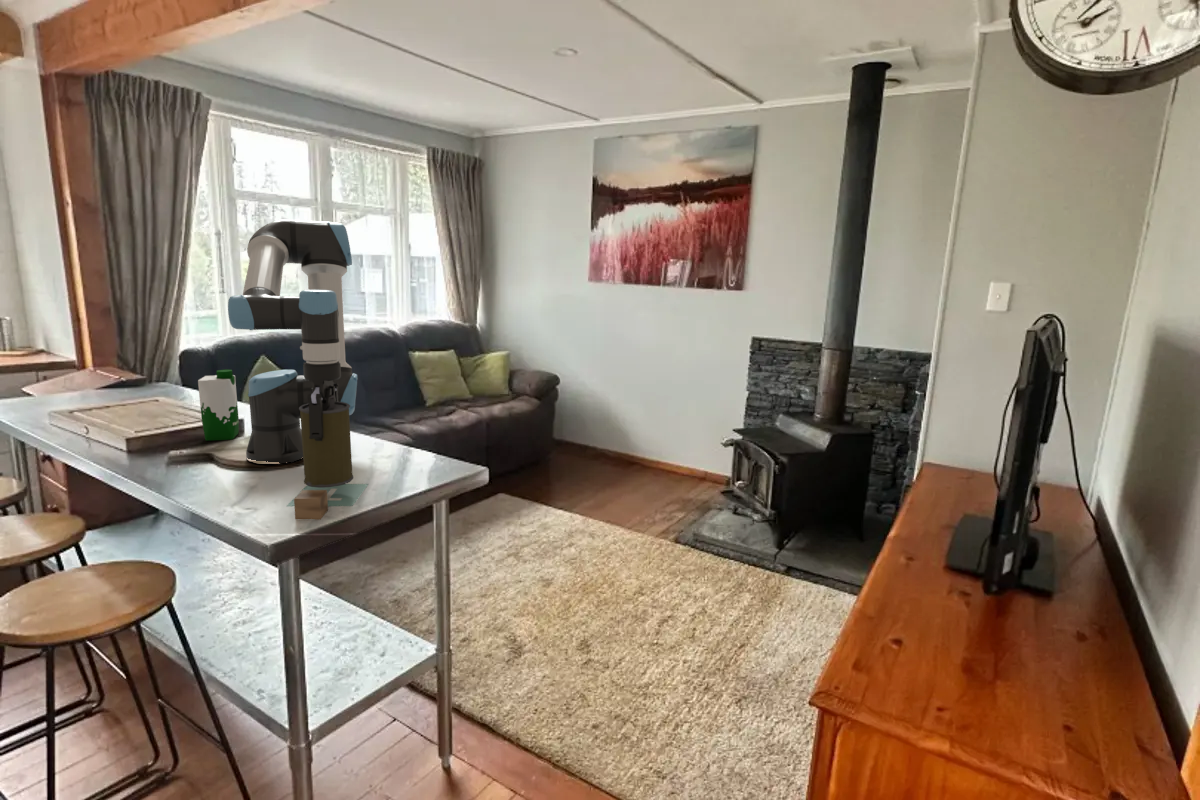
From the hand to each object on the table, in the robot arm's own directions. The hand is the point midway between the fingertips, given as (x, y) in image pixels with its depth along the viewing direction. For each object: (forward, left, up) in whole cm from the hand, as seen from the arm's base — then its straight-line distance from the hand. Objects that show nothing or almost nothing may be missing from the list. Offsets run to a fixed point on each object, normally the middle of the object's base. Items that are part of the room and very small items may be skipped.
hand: (327, 461), depth 142 cm
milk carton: (-48, -45, -9) cm, 66 cm away
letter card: (0, 0, -8) cm, 8 cm away
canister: (0, 0, -5) cm, 5 cm away
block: (+12, 0, -8) cm, 14 cm away
